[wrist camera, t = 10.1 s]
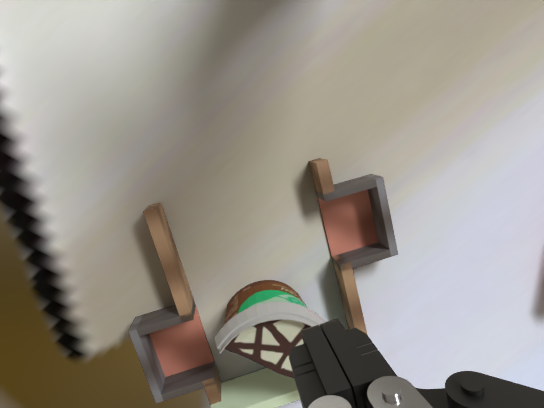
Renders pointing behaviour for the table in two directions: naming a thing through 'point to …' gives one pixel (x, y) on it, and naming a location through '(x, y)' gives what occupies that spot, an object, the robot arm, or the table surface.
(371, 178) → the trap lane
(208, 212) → the table surface
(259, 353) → the food container
